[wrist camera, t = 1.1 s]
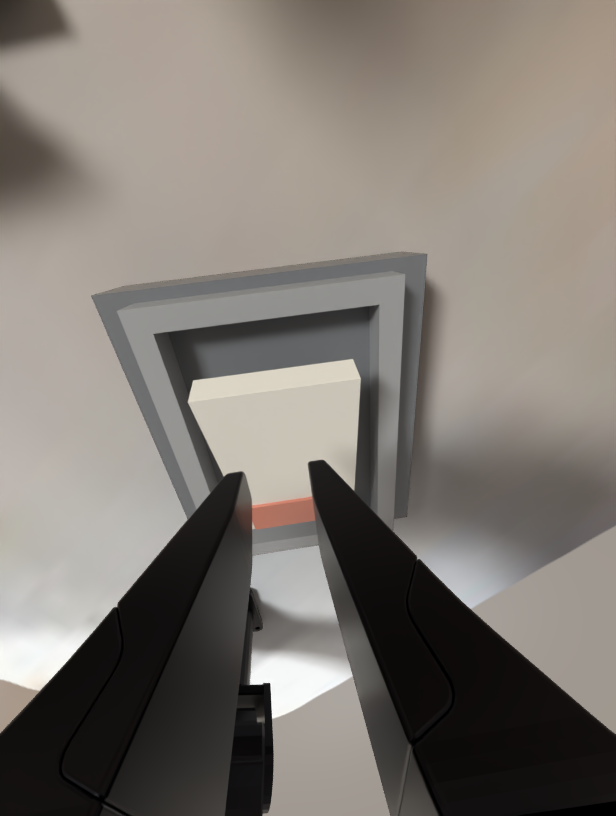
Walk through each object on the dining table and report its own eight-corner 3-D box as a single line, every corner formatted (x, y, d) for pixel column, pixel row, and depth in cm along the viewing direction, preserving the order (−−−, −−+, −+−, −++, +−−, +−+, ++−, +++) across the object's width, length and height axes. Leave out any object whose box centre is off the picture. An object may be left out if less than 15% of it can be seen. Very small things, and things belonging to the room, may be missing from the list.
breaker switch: (348, 495, 18) (353, 516, 17) (249, 510, 18) (249, 532, 17) (352, 359, 11) (361, 381, 10) (193, 380, 11) (186, 405, 10)
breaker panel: (392, 485, 23) (415, 535, 19) (208, 512, 23) (195, 569, 19) (401, 251, 15) (444, 255, 11) (123, 286, 15) (69, 302, 11)
